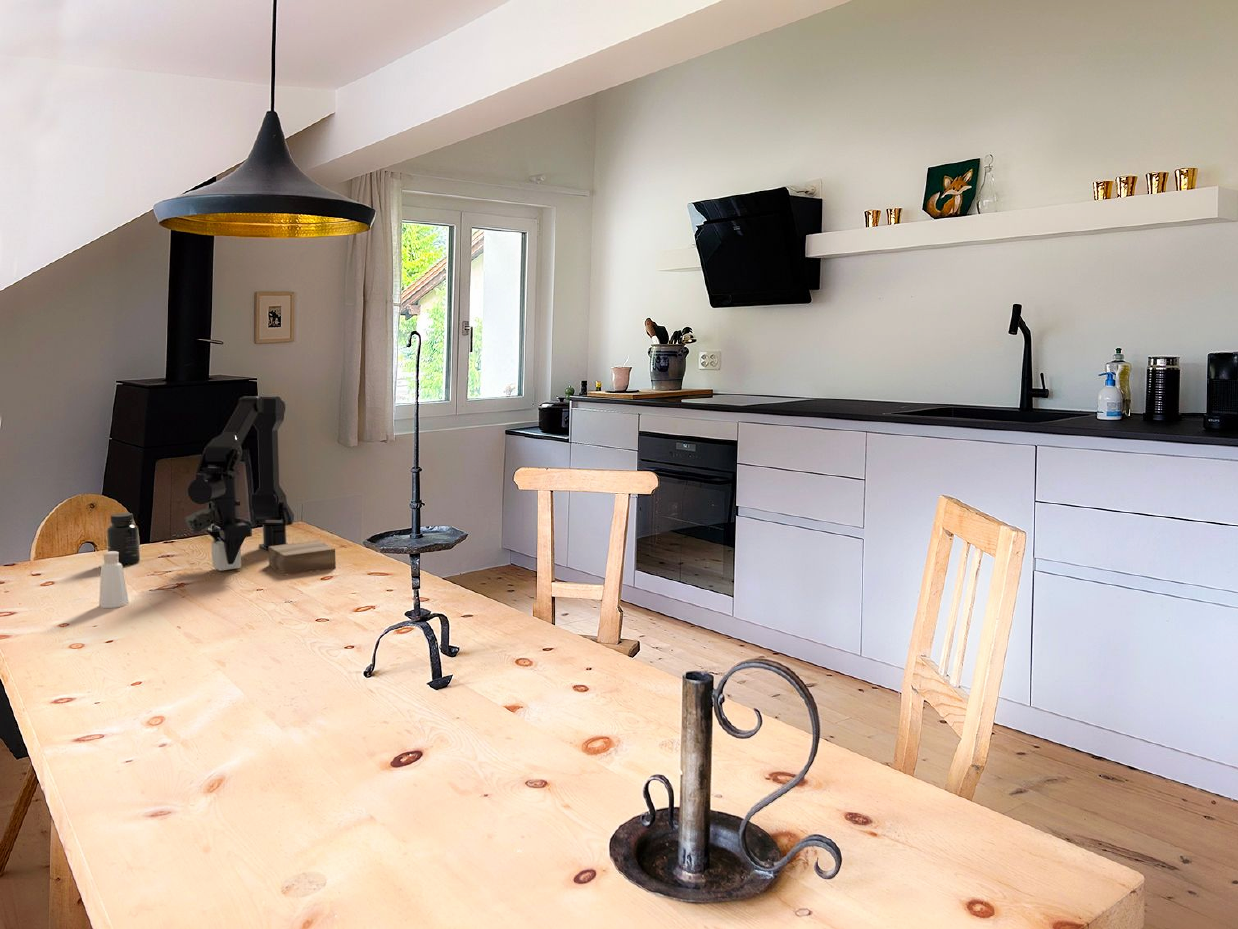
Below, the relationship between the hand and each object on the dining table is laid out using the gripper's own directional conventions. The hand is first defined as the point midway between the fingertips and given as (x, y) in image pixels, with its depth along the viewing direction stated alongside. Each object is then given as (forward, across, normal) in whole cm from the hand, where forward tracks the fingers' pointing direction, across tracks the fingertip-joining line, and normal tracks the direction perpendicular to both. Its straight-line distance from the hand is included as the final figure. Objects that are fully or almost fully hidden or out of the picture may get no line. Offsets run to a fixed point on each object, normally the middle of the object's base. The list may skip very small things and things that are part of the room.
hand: (226, 561), depth 224 cm
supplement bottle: (+2, -22, -17) cm, 28 cm away
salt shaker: (+2, +16, -28) cm, 32 cm away
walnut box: (+2, +8, +15) cm, 17 cm away
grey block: (+1, 0, 0) cm, 1 cm away
